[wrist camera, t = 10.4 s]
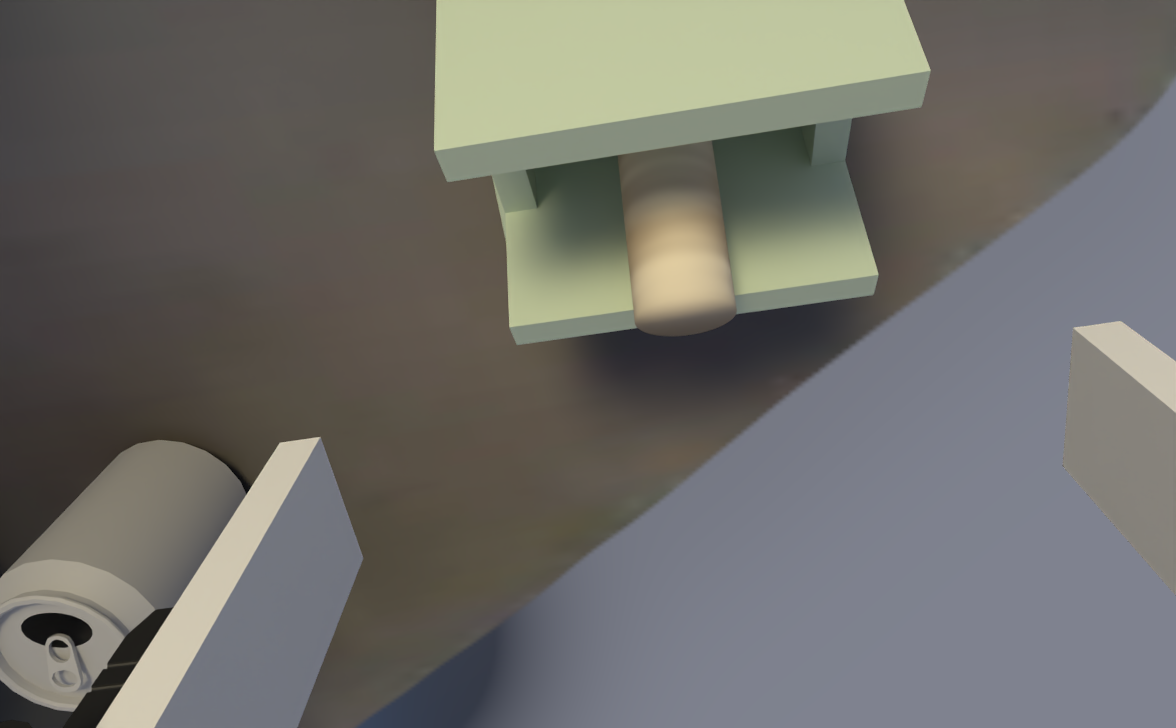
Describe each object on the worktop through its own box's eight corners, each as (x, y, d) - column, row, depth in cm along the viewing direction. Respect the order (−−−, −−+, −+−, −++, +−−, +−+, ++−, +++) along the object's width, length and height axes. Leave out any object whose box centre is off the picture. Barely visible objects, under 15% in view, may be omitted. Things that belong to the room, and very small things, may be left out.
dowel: (597, -15, 30) (630, 303, 26) (690, -31, 30) (738, 289, 26) (608, 47, 33) (639, 341, 29) (692, 33, 33) (735, 329, 29)
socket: (440, -132, 33) (317, -188, 19) (811, -203, 32) (972, -319, 18) (521, 263, 40) (474, 437, 26) (830, 217, 39) (957, 373, 25)
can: (240, 428, 44) (120, 585, 33) (269, 548, 47) (169, 727, 37) (95, 432, 44) (-70, 589, 34) (134, 551, 48) (-5, 729, 37)
